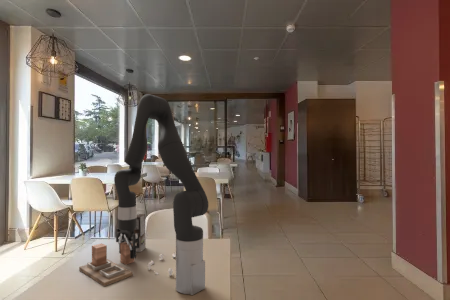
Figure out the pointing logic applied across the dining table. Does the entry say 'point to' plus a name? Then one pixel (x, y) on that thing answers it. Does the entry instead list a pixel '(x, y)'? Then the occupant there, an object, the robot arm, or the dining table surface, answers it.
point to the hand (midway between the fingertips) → (127, 255)
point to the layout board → (104, 267)
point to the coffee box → (140, 231)
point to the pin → (125, 253)
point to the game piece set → (161, 259)
